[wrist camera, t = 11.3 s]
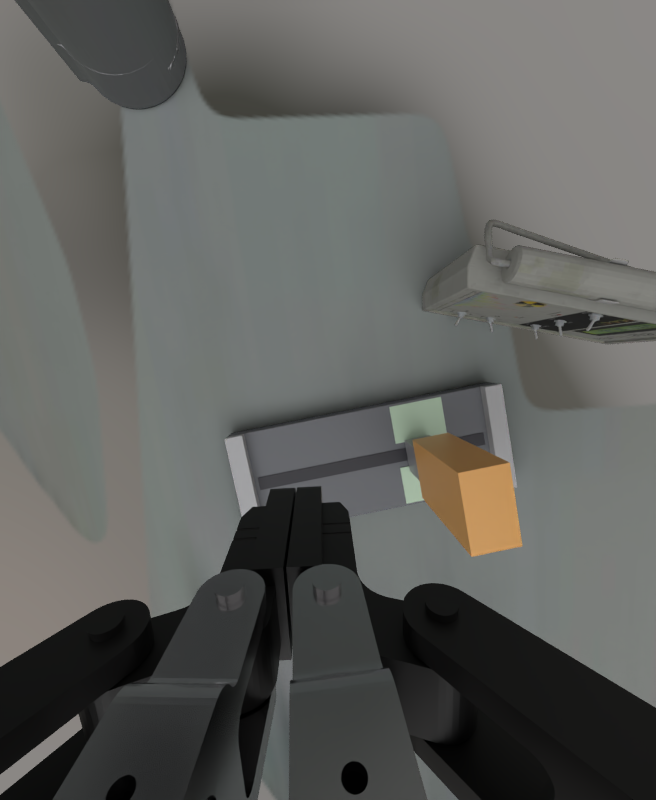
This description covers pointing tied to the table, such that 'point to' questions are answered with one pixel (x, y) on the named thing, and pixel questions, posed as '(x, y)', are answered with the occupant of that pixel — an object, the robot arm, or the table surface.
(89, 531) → the table surface
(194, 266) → the table surface
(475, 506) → the panel
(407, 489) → the console
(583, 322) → the geiger counter
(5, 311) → the table surface
